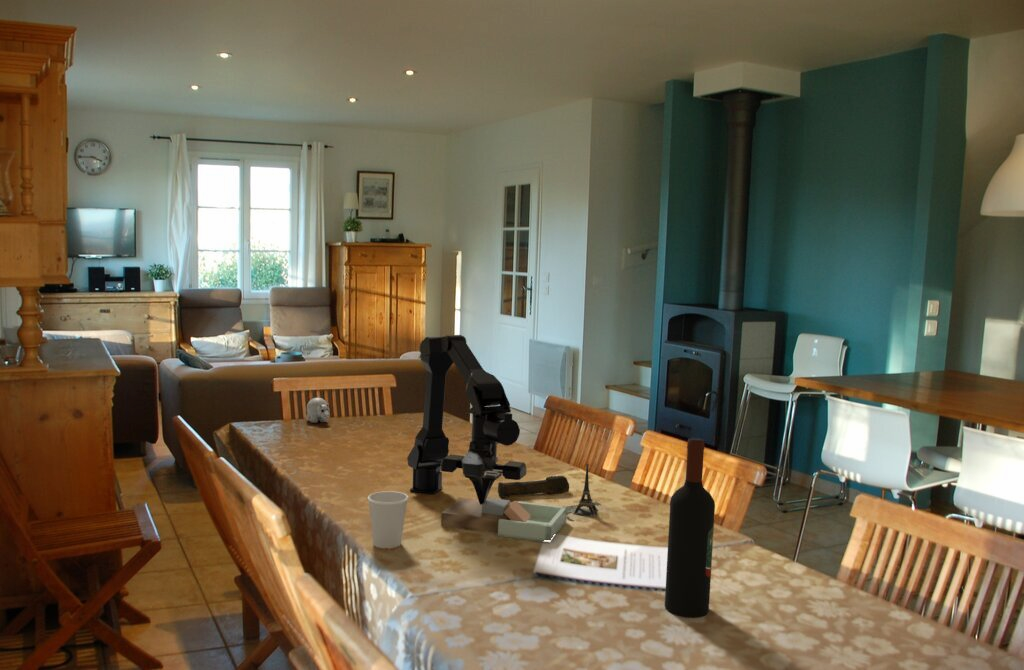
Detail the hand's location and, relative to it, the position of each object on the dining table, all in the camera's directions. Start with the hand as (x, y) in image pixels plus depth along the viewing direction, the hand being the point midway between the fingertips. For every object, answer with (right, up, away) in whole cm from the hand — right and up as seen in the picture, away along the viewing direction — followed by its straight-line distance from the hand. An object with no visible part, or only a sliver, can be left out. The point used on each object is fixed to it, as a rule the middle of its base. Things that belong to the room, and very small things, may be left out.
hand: (482, 504), depth 192 cm
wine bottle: (+37, -10, -43) cm, 58 cm away
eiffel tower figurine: (+24, -5, +12) cm, 27 cm away
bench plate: (-1, -4, +1) cm, 4 cm away
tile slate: (+3, -1, -1) cm, 3 cm away
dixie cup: (-19, -5, -16) cm, 25 cm away
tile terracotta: (+7, -3, -2) cm, 8 cm away
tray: (+11, -5, -3) cm, 13 cm away
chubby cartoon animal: (-60, +7, +102) cm, 119 cm away
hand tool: (+12, -3, +25) cm, 28 cm away
